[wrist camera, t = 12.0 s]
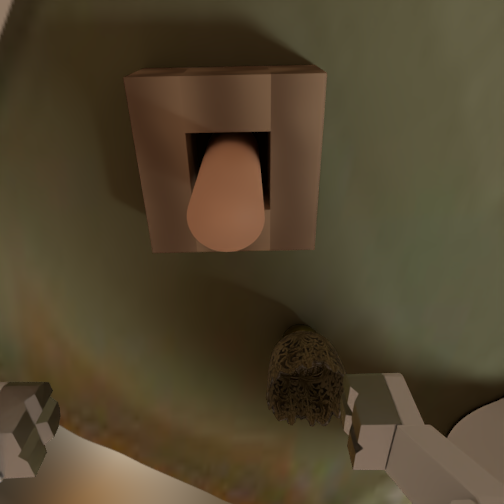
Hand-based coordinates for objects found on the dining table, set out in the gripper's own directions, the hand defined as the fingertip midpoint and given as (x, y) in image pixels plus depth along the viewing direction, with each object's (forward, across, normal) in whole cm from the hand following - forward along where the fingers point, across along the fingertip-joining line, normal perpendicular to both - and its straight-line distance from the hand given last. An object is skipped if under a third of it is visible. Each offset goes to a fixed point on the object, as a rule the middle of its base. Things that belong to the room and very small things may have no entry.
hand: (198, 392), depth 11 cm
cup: (+23, -6, +19) cm, 30 cm away
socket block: (+23, 0, 0) cm, 23 cm away
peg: (+23, 0, 0) cm, 23 cm away
